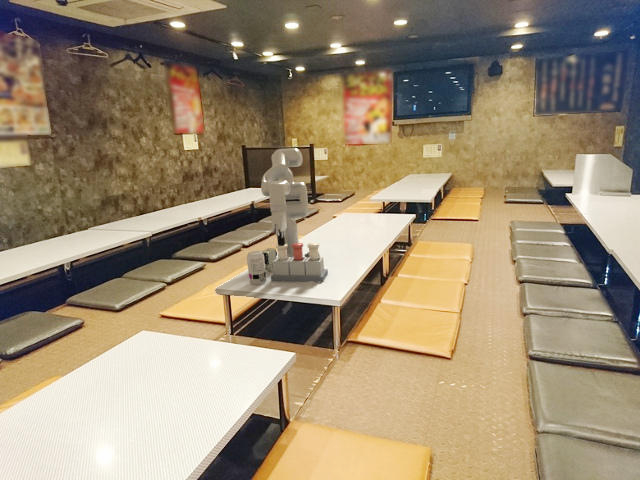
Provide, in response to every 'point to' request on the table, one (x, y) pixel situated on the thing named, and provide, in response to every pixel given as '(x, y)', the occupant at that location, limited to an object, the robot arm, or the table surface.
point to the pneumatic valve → (269, 258)
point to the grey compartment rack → (299, 270)
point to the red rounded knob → (297, 251)
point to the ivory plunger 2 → (313, 251)
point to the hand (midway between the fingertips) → (281, 245)
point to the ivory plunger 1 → (282, 252)
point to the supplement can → (256, 268)
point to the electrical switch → (309, 255)
